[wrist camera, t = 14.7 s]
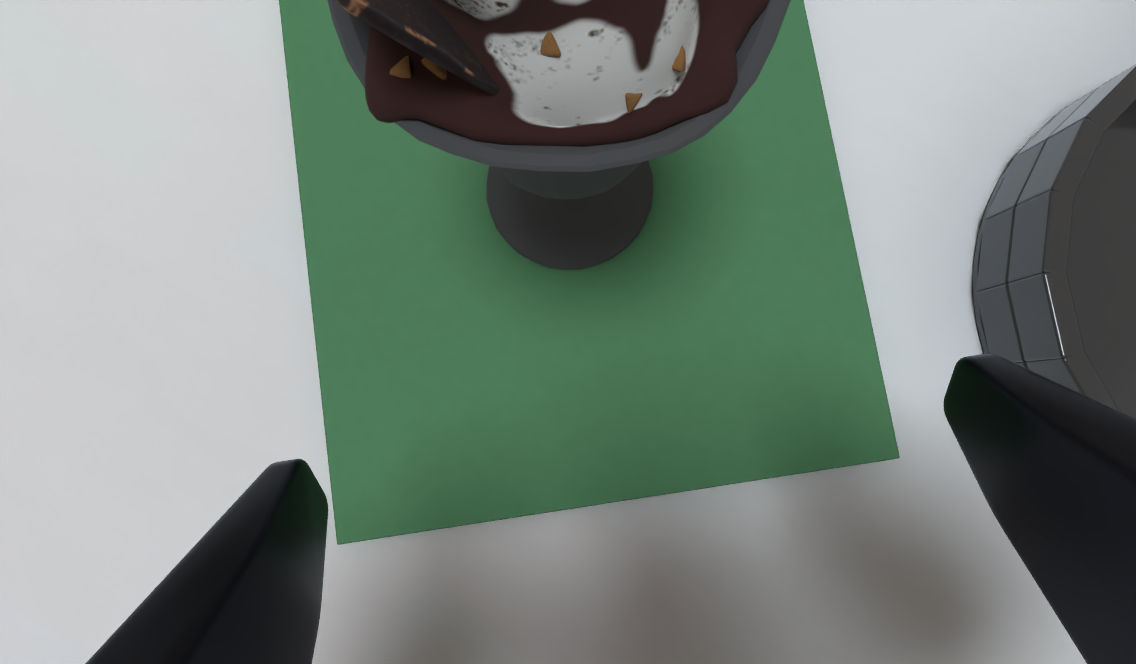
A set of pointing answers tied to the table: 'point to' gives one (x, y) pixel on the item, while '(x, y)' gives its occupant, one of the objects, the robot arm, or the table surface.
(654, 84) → the sundae
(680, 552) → the table surface
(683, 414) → the cloth
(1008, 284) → the skillet
